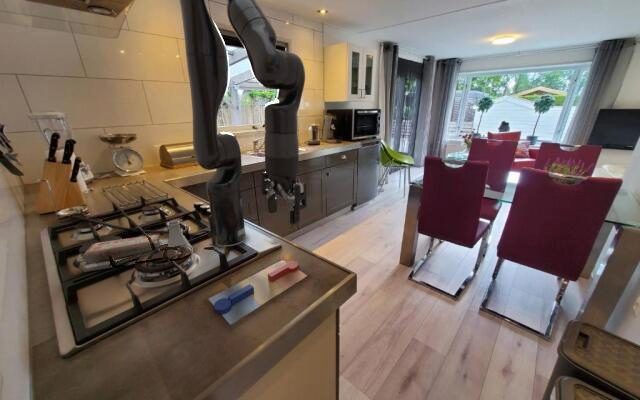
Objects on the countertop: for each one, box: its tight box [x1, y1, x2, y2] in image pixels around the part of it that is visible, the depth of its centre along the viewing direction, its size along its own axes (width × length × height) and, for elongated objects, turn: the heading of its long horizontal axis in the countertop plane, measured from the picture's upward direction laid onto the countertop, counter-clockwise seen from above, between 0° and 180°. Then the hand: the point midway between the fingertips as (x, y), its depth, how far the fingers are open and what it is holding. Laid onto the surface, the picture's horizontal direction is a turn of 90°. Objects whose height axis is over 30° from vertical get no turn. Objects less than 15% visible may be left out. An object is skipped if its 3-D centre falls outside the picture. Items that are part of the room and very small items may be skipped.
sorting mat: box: [208, 259, 308, 326], centre depth 60 cm, size 21×10×1 cm, turn 137°
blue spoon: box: [213, 284, 254, 316], centre depth 54 cm, size 9×3×2 cm, turn 137°
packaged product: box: [82, 234, 169, 273], centre depth 70 cm, size 18×5×10 cm
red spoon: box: [268, 260, 300, 283], centre depth 64 cm, size 9×3×2 cm, turn 137°
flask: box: [166, 219, 194, 253], centre depth 71 cm, size 7×7×10 cm
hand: (283, 217), depth 62 cm, fingers open, 8 cm apart
